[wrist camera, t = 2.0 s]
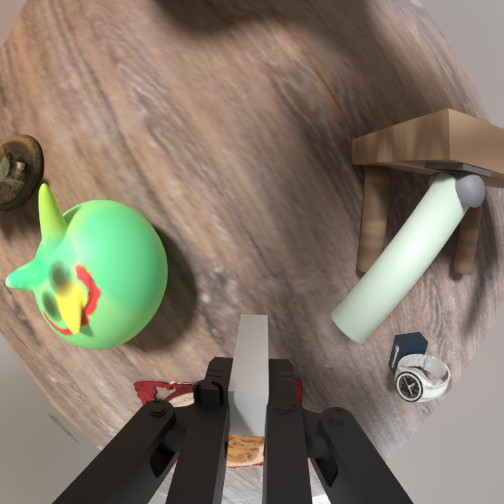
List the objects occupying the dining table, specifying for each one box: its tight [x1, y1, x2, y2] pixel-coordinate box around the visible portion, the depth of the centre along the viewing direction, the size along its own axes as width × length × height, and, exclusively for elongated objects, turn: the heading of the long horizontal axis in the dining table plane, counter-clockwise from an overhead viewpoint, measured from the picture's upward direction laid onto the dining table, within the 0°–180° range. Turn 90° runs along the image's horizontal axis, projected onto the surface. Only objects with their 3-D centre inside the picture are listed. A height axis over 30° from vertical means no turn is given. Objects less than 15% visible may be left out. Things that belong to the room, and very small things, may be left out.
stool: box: [351, 108, 504, 274], centre depth 23 cm, size 15×20×20 cm
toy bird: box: [6, 183, 168, 350], centre depth 29 cm, size 18×17×15 cm
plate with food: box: [134, 381, 302, 468], centre depth 43 cm, size 25×26×4 cm
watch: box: [388, 332, 451, 403], centre depth 33 cm, size 6×8×11 cm
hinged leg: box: [331, 172, 485, 344], centre depth 17 cm, size 13×3×4 cm, turn 144°
